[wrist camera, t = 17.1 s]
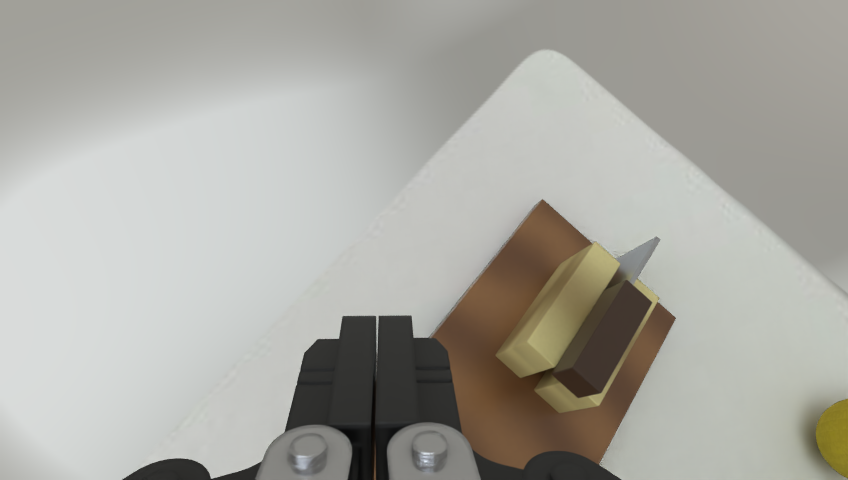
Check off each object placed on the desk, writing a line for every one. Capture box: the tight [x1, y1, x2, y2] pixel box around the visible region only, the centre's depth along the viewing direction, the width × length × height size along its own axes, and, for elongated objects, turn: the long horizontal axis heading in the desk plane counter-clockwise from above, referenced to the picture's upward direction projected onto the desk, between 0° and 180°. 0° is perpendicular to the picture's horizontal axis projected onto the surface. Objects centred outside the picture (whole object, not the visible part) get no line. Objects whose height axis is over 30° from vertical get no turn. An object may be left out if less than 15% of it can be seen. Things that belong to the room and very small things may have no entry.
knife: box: [552, 237, 660, 398], centre depth 31 cm, size 11×2×7 cm, turn 141°
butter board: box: [374, 199, 676, 480], centre depth 30 cm, size 24×12×5 cm, turn 141°
